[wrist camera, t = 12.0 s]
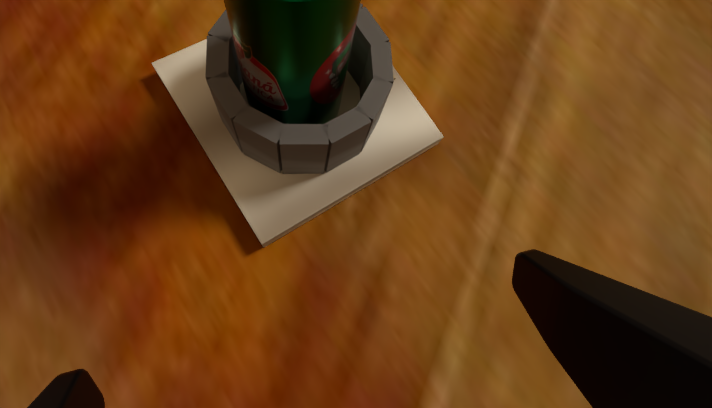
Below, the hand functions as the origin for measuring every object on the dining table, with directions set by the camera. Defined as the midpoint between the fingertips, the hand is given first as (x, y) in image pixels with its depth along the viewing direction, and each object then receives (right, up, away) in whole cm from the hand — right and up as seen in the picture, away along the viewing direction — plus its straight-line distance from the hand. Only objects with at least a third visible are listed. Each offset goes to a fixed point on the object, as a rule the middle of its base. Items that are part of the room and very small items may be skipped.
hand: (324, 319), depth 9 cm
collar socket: (-3, +8, +16) cm, 18 cm away
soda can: (-3, +8, +15) cm, 17 cm away
